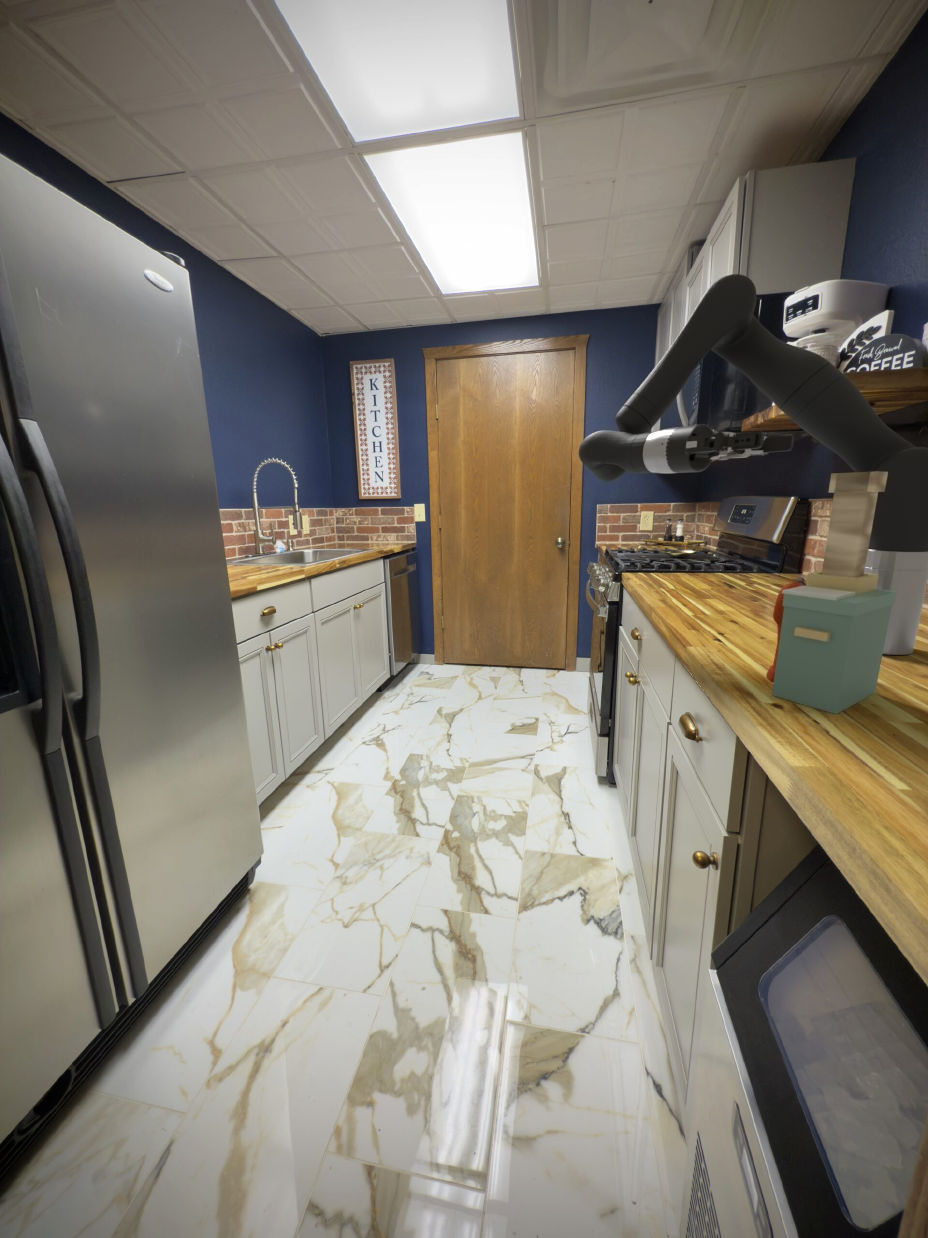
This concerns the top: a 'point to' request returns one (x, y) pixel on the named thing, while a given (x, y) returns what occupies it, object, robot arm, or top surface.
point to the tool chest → (832, 641)
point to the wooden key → (851, 521)
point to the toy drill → (778, 619)
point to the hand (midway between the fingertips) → (778, 441)
